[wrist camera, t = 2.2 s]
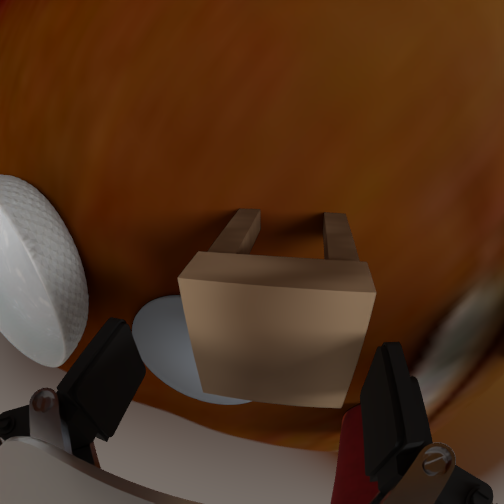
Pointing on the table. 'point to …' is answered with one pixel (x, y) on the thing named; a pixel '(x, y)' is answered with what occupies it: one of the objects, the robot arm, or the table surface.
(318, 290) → the stool
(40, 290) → the cereal bowl
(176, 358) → the mat
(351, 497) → the paper cup
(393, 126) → the table surface
